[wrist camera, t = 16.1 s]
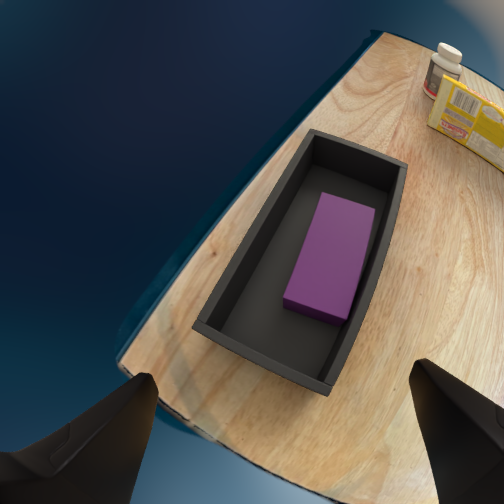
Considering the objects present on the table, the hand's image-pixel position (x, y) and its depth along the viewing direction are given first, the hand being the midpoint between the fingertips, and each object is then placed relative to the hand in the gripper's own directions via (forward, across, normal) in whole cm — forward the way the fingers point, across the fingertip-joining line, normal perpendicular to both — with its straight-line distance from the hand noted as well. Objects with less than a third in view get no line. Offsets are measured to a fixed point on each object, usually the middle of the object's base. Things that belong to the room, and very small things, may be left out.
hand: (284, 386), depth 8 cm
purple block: (+10, -2, +4) cm, 11 cm away
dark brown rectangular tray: (+15, -3, +2) cm, 16 cm away
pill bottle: (+34, -28, -17) cm, 48 cm away
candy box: (+25, -29, -8) cm, 39 cm away
